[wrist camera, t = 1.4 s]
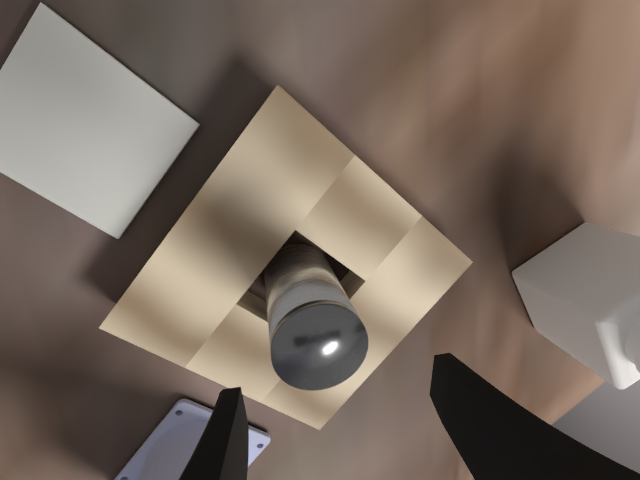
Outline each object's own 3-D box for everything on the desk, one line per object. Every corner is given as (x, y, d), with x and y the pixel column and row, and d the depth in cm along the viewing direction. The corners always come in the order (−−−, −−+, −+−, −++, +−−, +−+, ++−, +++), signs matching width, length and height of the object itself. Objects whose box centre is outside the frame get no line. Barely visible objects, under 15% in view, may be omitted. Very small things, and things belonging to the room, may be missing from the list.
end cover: (302, 313, 23) (326, 404, 15) (250, 282, 21) (249, 365, 14) (341, 266, 22) (387, 336, 15) (291, 230, 20) (314, 288, 13)
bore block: (313, 402, 25) (319, 429, 23) (116, 304, 20) (98, 328, 17) (450, 248, 23) (472, 262, 21) (274, 90, 18) (277, 84, 15)
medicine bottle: (533, 330, 28) (722, 465, 17) (508, 271, 25) (712, 385, 14) (603, 284, 28) (840, 389, 16) (585, 219, 25) (853, 292, 14)
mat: (120, 237, 19) (117, 239, 18) (-38, 145, 16) (-45, 146, 15) (200, 124, 17) (199, 124, 17) (45, 5, 15) (40, 2, 14)
